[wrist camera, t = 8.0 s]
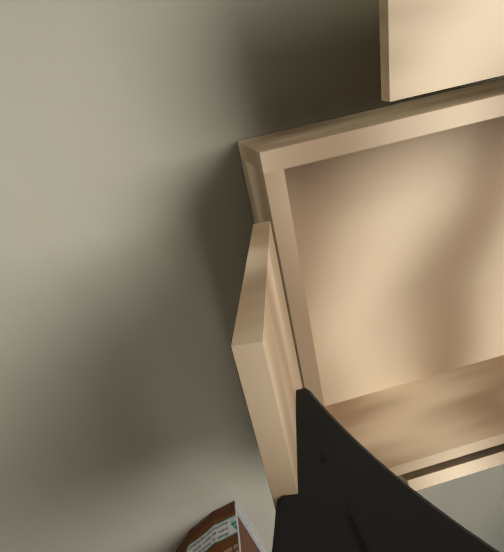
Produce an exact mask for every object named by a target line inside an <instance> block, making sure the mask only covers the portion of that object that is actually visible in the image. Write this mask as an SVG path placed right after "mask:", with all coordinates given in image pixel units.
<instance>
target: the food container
mask: <svg viewBox="0 0 504 552" xmlns="http://www.w3.org/2000/svg"><path fill="white" fill-rule="evenodd" d="M176 552H265V550H264V549H263V547H262V545H261V544H260V542H259V540H258V539H257V537H256V535H255V534H254V532H253V530H252V529H251V527H250V526H249V524H248V522H247V521H246V519H245V517H244V516H243V514H242V512H241V511H240V509H239V507H238V506H237V504H236V503H235V501H233V502H231V503H229V504H227V505H225V506H223V507H221V508H219V509H217V510H215V511H213V512H212V513H211V514H209V515H208V516H207V517H206V518H205V519H203V520H202V521H201V522H200V523H198V524H197V525H196V526H195V527H193V528H192V529H191V530H190V531H189V533H188V534H187V536H186V537H185V538H184V540H183V541H182V543H181V544H180V546H179V547H178V549H177V550H176Z"/></svg>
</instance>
